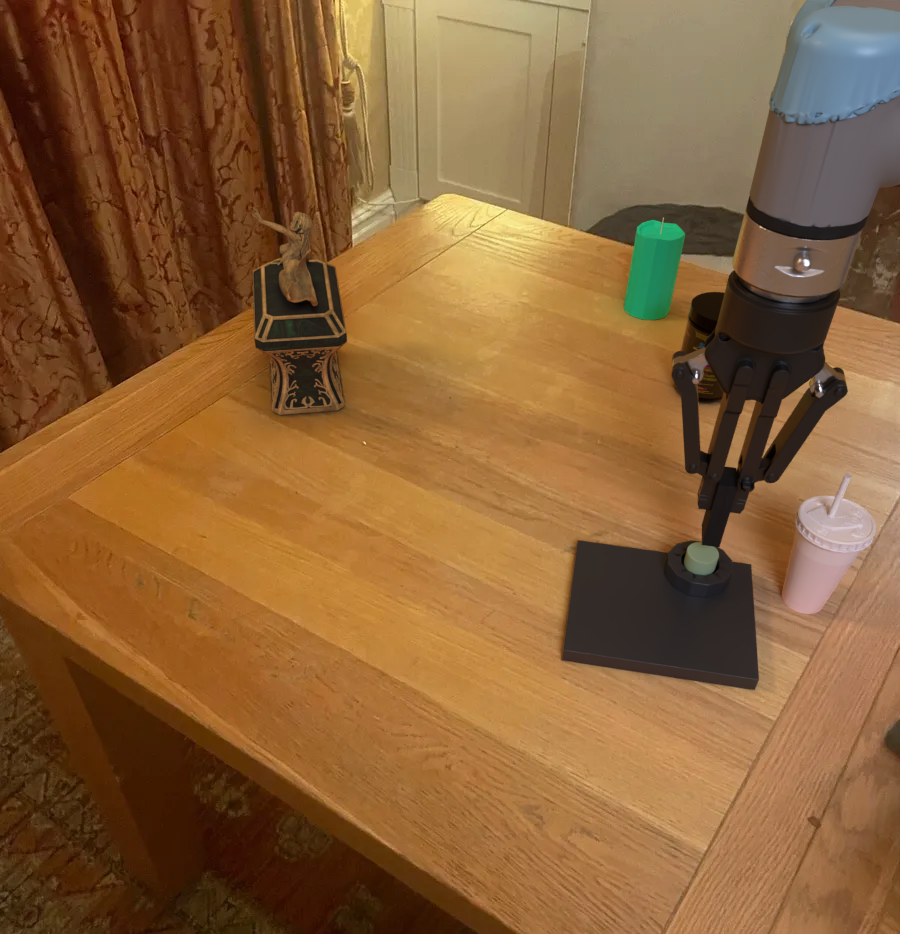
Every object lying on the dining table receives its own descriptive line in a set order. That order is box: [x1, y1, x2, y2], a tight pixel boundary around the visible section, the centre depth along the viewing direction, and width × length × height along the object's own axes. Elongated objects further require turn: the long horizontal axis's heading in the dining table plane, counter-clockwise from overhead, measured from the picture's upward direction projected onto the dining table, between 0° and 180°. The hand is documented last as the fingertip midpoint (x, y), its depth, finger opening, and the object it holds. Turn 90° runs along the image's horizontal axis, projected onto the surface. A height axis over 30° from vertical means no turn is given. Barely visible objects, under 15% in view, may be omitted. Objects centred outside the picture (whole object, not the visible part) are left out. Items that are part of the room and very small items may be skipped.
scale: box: [561, 539, 760, 691], centre depth 79 cm, size 16×14×3 cm
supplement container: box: [673, 291, 725, 404], centre depth 102 cm, size 7×7×10 cm
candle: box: [623, 216, 686, 321], centre depth 115 cm, size 6×6×12 cm
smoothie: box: [781, 473, 877, 615], centre depth 77 cm, size 6×6×14 cm
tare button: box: [684, 541, 719, 575], centre depth 81 cm, size 3×3×2 cm
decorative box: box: [250, 206, 348, 416], centre depth 97 cm, size 20×10×20 cm, turn 9°
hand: (710, 535), depth 79 cm, fingers closed
